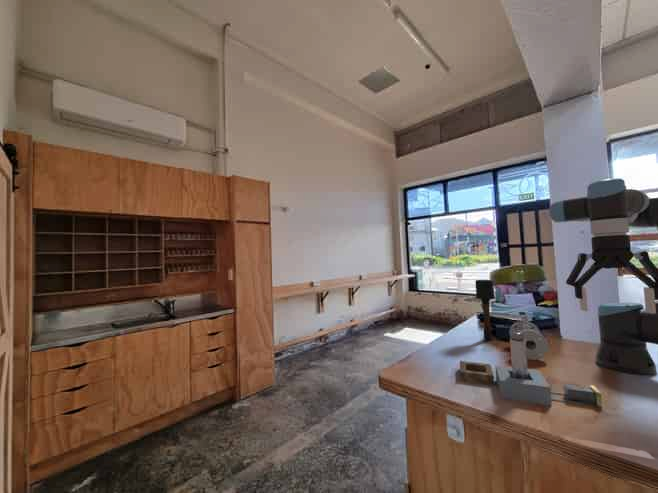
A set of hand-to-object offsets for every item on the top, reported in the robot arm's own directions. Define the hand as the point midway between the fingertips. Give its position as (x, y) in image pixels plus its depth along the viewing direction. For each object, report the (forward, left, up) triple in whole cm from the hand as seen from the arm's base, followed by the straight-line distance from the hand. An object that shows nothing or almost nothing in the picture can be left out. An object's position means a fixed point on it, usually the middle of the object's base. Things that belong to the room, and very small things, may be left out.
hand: (616, 311), depth 75 cm
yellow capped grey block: (+9, 0, -26) cm, 28 cm away
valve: (+13, -44, -27) cm, 53 cm away
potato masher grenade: (+27, -56, -27) cm, 68 cm away
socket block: (+19, 0, -27) cm, 33 cm away
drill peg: (+23, 0, -26) cm, 35 cm away
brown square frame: (+35, -7, -27) cm, 45 cm away
